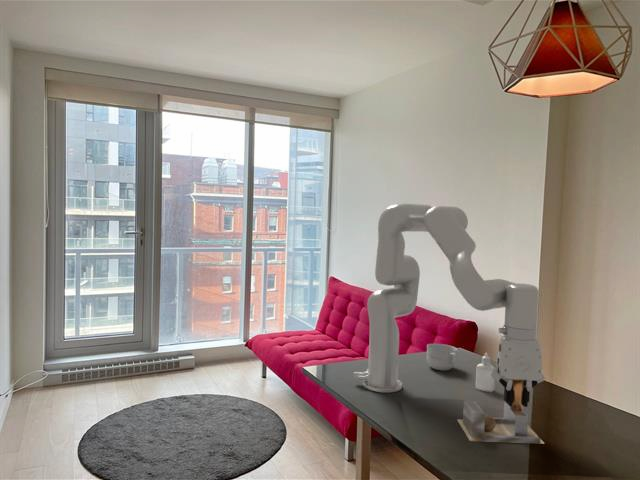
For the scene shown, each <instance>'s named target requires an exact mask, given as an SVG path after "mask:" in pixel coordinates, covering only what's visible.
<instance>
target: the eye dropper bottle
mask: <svg viewBox="0 0 640 480" xmlns="http://www.w3.org/2000/svg"><path fill="white" fill-rule="evenodd" d="M481 359H482V360H481V363H478V364H477V365H476V369H475V370H476V371H475V389H476V390H478V391H482V392H486V393H492V392H494V390H495V381H496V380H494V379H493V378H492V377H491V374H492V372H493V371H494V369H495V366H493V365H492V364H491V357H490V356H489V353H487V352H485V353H484V355H483V356H482V357H481Z"/></svg>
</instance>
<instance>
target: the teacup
mask: <svg viewBox="0 0 640 480" xmlns="http://www.w3.org/2000/svg"><path fill="white" fill-rule="evenodd" d="M457 352H458V348H457V347H455V346H452V345H448V344H444V343H443V344H442V343H428V344H427V345H426V363H427V364H428V365H429V366H430V367H431V368H432V369H433V370H438V371H450V370H451V369H452V368H454V367H455V366H456V365H457V363H458V361H459V359H458V358H459V357H458V355H457Z"/></svg>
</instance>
